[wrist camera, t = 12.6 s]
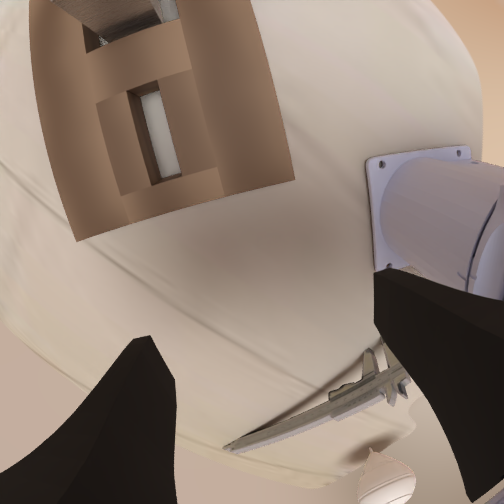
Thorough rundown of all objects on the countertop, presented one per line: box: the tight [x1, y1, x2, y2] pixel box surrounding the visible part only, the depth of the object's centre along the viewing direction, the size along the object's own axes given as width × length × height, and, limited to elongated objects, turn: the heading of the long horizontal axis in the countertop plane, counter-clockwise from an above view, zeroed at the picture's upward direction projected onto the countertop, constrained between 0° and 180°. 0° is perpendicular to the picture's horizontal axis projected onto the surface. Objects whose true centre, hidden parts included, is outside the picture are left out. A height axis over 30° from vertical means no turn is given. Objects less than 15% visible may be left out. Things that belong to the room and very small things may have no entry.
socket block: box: [29, 0, 295, 242], centre depth 12 cm, size 12×16×2 cm
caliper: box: [223, 337, 411, 454], centre depth 22 cm, size 20×1×6 cm, turn 136°
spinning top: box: [357, 447, 416, 504], centre depth 25 cm, size 8×8×12 cm
